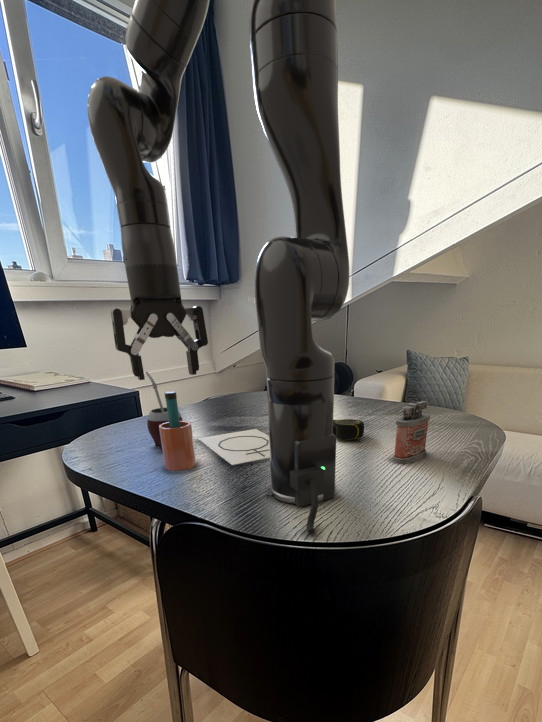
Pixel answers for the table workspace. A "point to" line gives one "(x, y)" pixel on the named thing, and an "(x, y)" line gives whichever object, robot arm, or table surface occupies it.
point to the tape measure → (348, 429)
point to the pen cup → (177, 446)
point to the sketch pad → (240, 446)
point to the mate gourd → (157, 417)
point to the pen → (172, 409)
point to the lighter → (411, 433)
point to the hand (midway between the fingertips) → (167, 376)
